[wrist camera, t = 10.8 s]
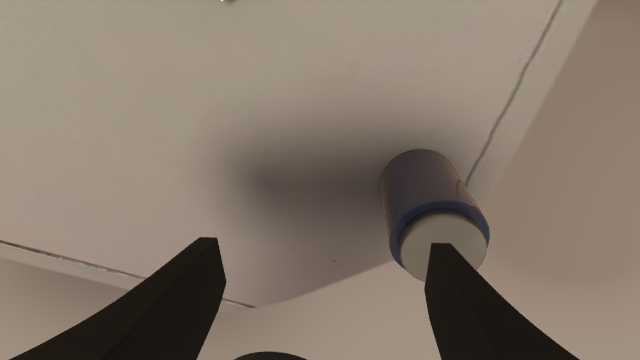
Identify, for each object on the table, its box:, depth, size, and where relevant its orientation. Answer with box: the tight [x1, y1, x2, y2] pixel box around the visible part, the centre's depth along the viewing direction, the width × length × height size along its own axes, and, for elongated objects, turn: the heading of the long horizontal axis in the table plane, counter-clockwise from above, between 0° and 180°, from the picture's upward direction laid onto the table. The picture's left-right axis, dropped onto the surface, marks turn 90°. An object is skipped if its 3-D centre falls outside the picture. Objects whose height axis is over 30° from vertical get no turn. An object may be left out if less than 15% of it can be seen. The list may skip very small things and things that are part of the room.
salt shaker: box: [380, 150, 490, 282], centre depth 18 cm, size 4×4×6 cm
